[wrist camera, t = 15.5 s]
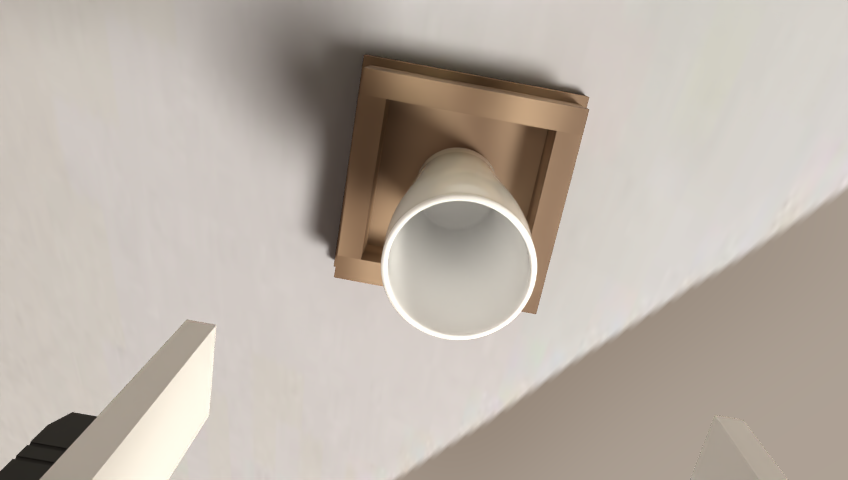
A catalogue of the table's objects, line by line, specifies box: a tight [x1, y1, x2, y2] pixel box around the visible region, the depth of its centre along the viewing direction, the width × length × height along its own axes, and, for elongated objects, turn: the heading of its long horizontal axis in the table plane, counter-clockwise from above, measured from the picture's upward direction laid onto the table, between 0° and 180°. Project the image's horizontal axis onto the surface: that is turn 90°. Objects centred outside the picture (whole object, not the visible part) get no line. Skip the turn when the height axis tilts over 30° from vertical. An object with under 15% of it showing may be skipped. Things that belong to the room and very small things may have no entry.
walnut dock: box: [334, 54, 589, 314], centre depth 40 cm, size 14×14×4 cm
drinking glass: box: [381, 147, 537, 340], centre depth 34 cm, size 7×7×15 cm
